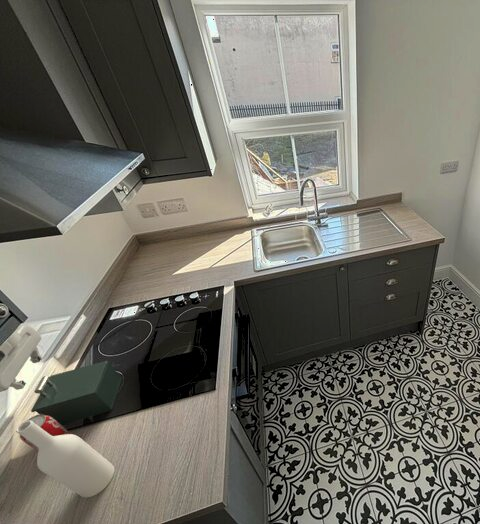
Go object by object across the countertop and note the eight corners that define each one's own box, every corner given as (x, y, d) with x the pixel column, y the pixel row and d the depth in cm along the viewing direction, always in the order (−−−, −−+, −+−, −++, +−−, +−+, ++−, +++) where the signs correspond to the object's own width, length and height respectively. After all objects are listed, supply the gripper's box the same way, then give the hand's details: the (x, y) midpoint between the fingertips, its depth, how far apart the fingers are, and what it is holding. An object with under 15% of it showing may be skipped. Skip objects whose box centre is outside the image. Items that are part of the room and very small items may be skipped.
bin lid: (32, 412, 87) (21, 403, 84) (51, 377, 97) (42, 368, 94) (96, 393, 91) (87, 384, 88) (108, 361, 101) (101, 353, 98)
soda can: (74, 443, 89) (49, 423, 82) (44, 462, 85) (15, 443, 78) (70, 427, 93) (46, 407, 86) (41, 445, 89) (14, 425, 82)
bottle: (94, 502, 76) (14, 451, 59) (72, 492, 78) (-12, 440, 61) (121, 468, 83) (56, 412, 66) (100, 459, 85) (31, 404, 67)
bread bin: (55, 427, 93) (35, 411, 87) (71, 393, 103) (54, 376, 97) (112, 410, 97) (96, 393, 91) (122, 378, 107) (108, 362, 101)
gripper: (4, 320, 86) (35, 350, 94) (-46, 377, 70) (-4, 408, 78) (29, 314, 88) (58, 344, 96) (-14, 369, 72) (25, 399, 80)
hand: (30, 373), depth 87 cm, fingers open, 8 cm apart
